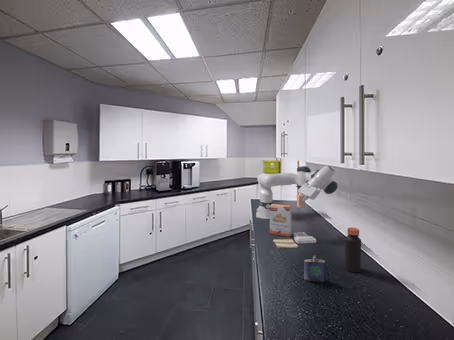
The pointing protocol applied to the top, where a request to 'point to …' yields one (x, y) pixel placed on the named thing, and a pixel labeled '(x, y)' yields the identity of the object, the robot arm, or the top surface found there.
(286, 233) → the cracker box
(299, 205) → the block
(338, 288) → the top surface
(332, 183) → the robot arm
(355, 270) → the bottle
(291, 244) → the board
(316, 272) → the flask
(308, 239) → the dispenser
